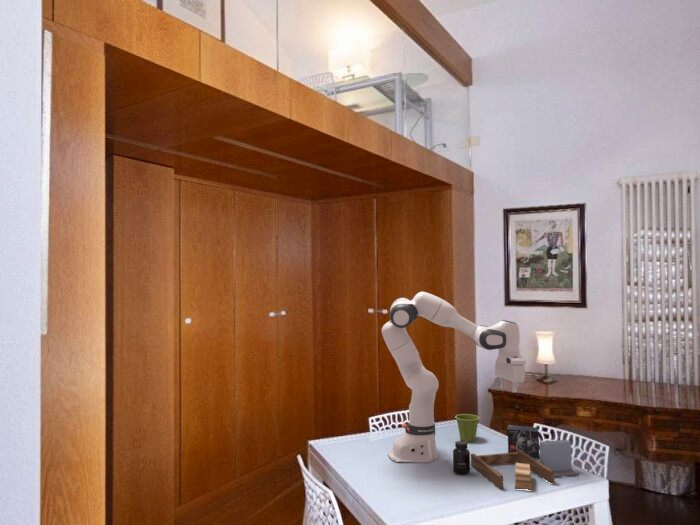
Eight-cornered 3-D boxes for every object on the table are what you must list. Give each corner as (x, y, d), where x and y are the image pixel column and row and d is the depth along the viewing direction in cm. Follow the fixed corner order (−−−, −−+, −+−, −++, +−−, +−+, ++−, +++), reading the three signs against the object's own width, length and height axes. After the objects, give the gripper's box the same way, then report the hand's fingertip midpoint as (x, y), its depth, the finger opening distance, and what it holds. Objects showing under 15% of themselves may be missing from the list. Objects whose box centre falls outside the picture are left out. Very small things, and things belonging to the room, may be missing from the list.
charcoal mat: (551, 478, 196) (551, 476, 196) (534, 467, 208) (534, 465, 208) (579, 475, 198) (578, 473, 198) (560, 464, 210) (560, 463, 210)
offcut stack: (532, 492, 184) (531, 475, 184) (514, 490, 186) (514, 474, 186) (531, 478, 197) (530, 462, 197) (515, 476, 199) (514, 461, 199)
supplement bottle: (460, 476, 199) (459, 446, 200) (449, 471, 205) (448, 441, 206) (473, 473, 202) (473, 443, 203) (462, 468, 208) (461, 439, 209)
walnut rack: (499, 489, 186) (499, 476, 186) (471, 465, 211) (470, 453, 211) (554, 484, 190) (554, 470, 190) (519, 461, 215) (519, 449, 215)
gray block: (544, 471, 200) (543, 444, 201) (540, 469, 203) (539, 441, 204) (571, 469, 203) (570, 441, 203) (567, 466, 206) (566, 439, 206)
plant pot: (483, 443, 240) (482, 419, 240) (458, 444, 240) (457, 420, 240) (477, 436, 252) (476, 413, 252) (453, 436, 252) (453, 414, 252)
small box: (507, 456, 222) (507, 428, 223) (508, 451, 228) (507, 424, 229) (539, 459, 218) (538, 431, 218) (539, 454, 224) (538, 427, 225)
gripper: (491, 354, 227) (491, 385, 227) (513, 361, 207) (513, 394, 207) (504, 354, 229) (503, 385, 228) (527, 361, 208) (527, 394, 208)
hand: (508, 389), depth 217 cm, fingers open, 8 cm apart
